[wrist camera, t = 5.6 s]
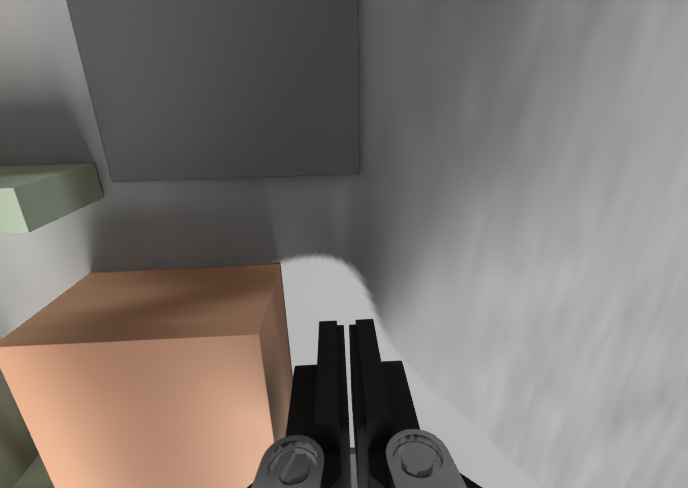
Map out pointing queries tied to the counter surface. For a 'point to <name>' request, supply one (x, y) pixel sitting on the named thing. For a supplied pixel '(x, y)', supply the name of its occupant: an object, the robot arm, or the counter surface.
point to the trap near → (222, 86)
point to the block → (155, 377)
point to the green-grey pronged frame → (21, 217)
